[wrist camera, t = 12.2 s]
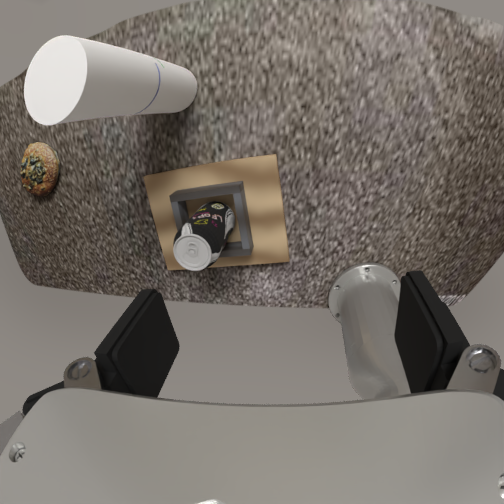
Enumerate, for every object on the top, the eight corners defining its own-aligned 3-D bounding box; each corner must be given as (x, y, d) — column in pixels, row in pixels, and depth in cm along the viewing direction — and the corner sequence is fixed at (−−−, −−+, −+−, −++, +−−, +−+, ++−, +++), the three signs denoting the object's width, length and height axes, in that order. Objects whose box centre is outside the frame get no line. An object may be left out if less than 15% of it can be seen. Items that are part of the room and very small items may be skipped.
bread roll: (38, 204, 49) (21, 209, 45) (24, 157, 47) (7, 159, 42) (70, 180, 47) (52, 183, 42) (55, 128, 44) (36, 128, 40)
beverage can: (239, 204, 43) (220, 236, 32) (232, 240, 46) (212, 281, 35) (201, 195, 43) (170, 224, 33) (196, 231, 46) (166, 268, 35)
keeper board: (289, 258, 47) (288, 271, 43) (170, 267, 51) (161, 279, 47) (276, 153, 41) (274, 157, 37) (146, 175, 44) (134, 181, 40)
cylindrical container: (159, 119, 40) (35, 140, 18) (146, 78, 38) (18, 68, 15) (203, 102, 39) (97, 97, 16) (189, 59, 36) (77, 17, 14)
